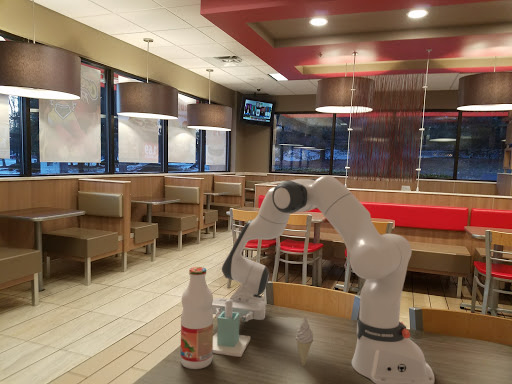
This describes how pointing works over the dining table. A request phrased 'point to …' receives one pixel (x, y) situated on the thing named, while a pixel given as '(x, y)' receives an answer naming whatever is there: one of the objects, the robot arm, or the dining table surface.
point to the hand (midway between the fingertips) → (231, 317)
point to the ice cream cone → (304, 340)
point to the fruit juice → (197, 322)
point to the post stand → (239, 345)
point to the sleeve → (228, 330)
